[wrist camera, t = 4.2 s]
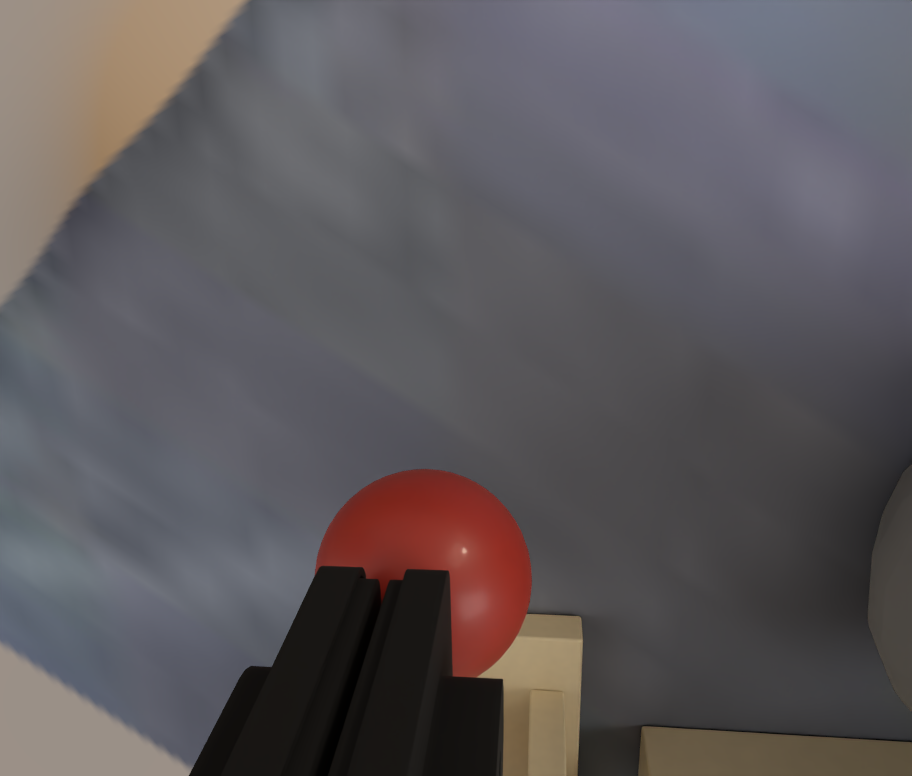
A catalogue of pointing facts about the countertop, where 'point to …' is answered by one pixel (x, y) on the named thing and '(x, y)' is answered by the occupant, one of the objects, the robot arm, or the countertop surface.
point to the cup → (894, 589)
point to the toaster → (767, 754)
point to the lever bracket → (542, 696)
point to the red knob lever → (441, 554)
